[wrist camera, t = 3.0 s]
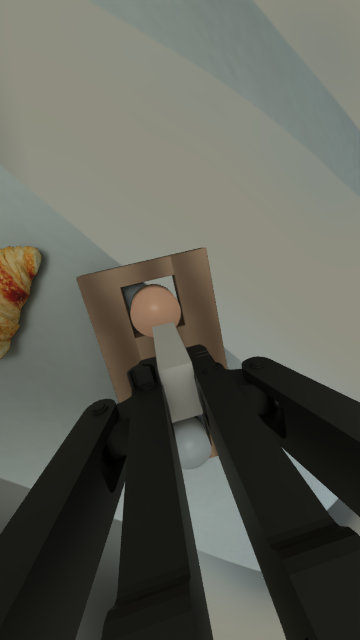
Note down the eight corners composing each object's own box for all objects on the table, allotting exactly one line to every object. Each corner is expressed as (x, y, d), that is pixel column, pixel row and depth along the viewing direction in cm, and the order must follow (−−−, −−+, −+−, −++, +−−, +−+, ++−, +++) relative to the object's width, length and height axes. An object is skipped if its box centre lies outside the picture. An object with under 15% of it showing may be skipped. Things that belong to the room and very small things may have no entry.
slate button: (172, 451, 33) (176, 474, 30) (164, 422, 32) (167, 442, 29) (207, 441, 34) (214, 461, 31) (200, 411, 32) (207, 430, 29)
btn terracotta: (138, 332, 28) (137, 342, 25) (126, 290, 27) (124, 295, 23) (179, 321, 28) (185, 330, 25) (170, 279, 27) (174, 283, 24)
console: (144, 463, 36) (145, 478, 33) (81, 275, 27) (76, 277, 25) (234, 435, 37) (241, 448, 35) (200, 247, 29) (206, 247, 26)
